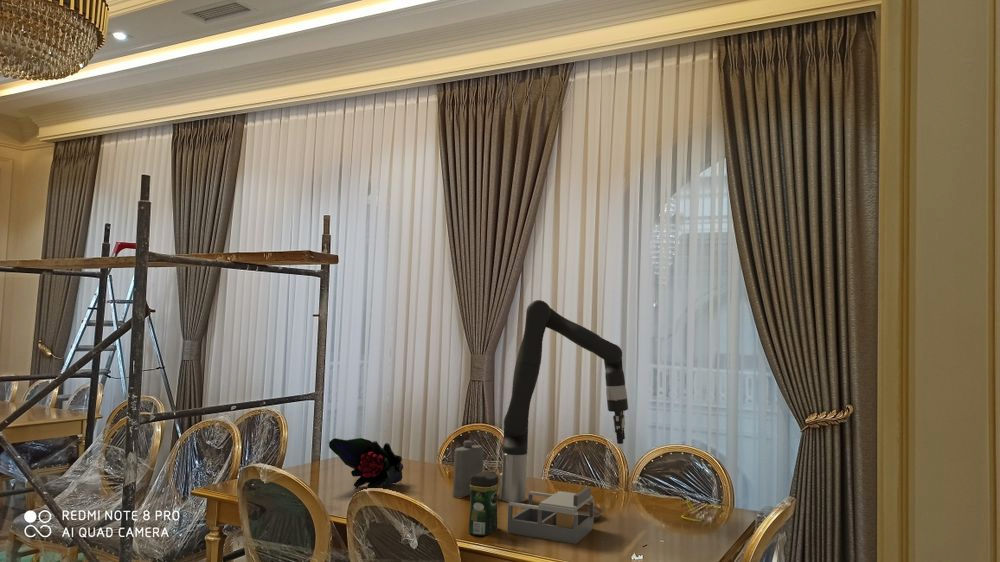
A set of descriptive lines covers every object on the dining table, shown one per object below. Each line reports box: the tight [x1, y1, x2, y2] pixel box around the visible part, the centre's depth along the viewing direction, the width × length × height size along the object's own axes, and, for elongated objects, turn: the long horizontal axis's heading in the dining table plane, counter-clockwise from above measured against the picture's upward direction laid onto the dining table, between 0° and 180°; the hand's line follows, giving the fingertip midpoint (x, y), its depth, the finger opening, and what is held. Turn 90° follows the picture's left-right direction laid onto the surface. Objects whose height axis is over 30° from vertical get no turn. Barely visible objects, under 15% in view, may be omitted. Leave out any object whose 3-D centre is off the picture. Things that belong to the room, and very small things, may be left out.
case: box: [507, 490, 595, 545], centre depth 217 cm, size 22×18×10 cm
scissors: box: [681, 498, 720, 522], centre depth 249 cm, size 25×10×5 cm, turn 141°
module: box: [556, 510, 577, 528], centre depth 215 cm, size 5×5×8 cm
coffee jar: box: [468, 470, 500, 537], centre depth 216 cm, size 10×8×19 cm
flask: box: [452, 440, 484, 498], centre depth 266 cm, size 15×6×20 cm, turn 146°
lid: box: [538, 486, 594, 514], centre depth 216 cm, size 11×20×5 cm, turn 156°
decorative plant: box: [328, 437, 404, 489], centre depth 269 cm, size 21×26×30 cm
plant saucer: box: [577, 503, 604, 522], centre depth 237 cm, size 21×21×3 cm
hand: (621, 441), depth 257 cm, fingers open, 8 cm apart
